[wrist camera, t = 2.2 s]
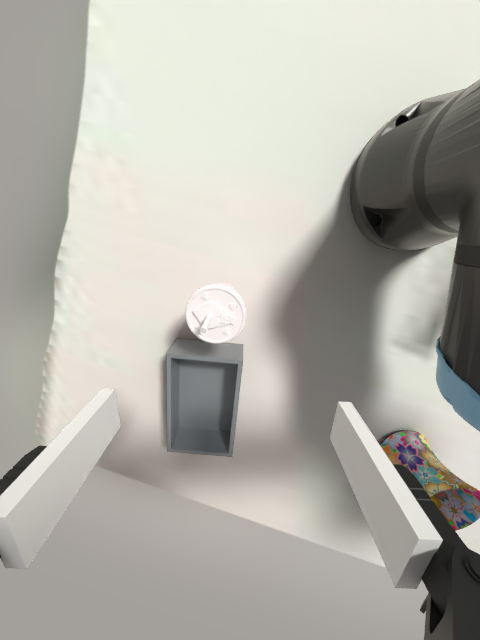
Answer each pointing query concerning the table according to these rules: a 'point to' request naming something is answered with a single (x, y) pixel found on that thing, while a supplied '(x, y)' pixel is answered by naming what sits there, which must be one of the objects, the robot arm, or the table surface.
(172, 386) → the tray
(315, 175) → the table surface
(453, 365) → the robot arm
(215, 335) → the smoothie
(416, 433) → the mug
